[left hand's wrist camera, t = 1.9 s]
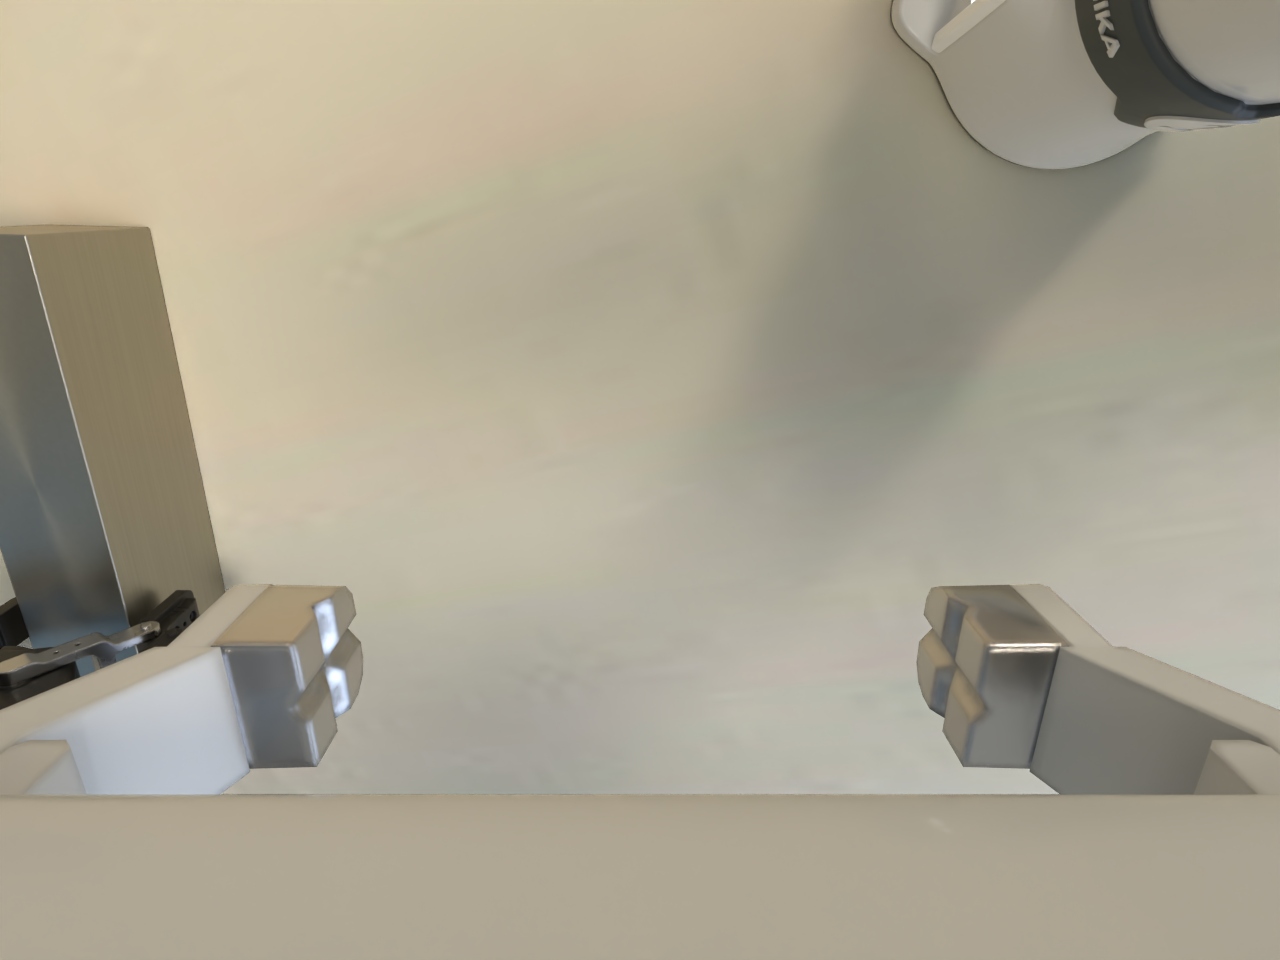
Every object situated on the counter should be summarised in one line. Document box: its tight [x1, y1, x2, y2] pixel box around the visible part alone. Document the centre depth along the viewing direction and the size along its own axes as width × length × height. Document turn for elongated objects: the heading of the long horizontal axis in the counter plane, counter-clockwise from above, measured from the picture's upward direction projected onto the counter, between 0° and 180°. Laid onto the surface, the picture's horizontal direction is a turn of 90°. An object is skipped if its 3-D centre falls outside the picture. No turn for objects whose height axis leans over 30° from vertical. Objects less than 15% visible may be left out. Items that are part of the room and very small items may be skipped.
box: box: [0, 225, 225, 677], centre depth 41 cm, size 25×6×9 cm, turn 179°
